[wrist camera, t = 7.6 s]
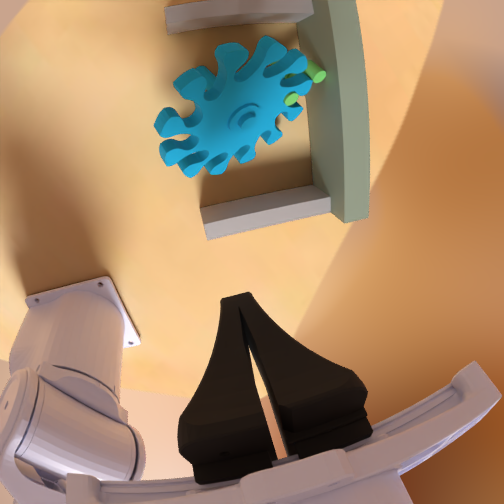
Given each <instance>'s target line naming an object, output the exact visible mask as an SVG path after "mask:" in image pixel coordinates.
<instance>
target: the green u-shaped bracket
mask: <svg viewBox="0 0 504 504" xmlns="http://www.w3.org/2000/svg"><path fill="white" fill-rule="evenodd" d="M164 9H165V18H166V26H167V33H168V35H169V34H174V33H180V32H185V31H191V30H197V29H204V28H211V27H220V26H229V25H240V24H256V23H296V25H297V31H298V38H299V45H300V52H301V53H303V54H304V55H305V56H306V58H307V60H312V61H313V62H314V63H316V64H317V65H318V66H319V67H320V68H322V69H323V70H324V71H325V72H326V76H325V78H324V79H323V80H322V81H321V82H319V83H314V82H312V86H311V88H310V90H309V92H308V93H307V94H306V103H307V113H308V124H309V135H310V148H311V162H312V178H313V185H308V186H303V187H297V188H292V189H287V190H282V191H277V192H272V193H267V194H262V195H257V196H252V197H247V198H243V199H238V200H234V201H229V202H224V203H220V204H216V205H211V206H207V207H203V208H200V212H201V216H202V221H203V225H204V229H205V233H206V237H207V240H211V239H216V238H220V237H224V236H228V235H233V234H237V233H241V232H245V231H250V230H254V229H258V228H263V227H267V226H271V225H276V224H280V223H285V222H289V221H293V220H298V219H302V218H307V217H311V216H316V215H321V214H325V213H330V212H331V213H332V214H333V215H335V216H336V217H337V218H338V219H340V220H341V221H342V222H343V223H348V222H353V221H357V220H361V219H366V218H368V213H369V190H370V134H369V110H368V94H367V81H366V70H365V61H364V52H363V44H362V37H361V30H360V23H359V17H358V11H357V6H356V0H207V1H199V2H192V3H186V4H180V5H174V6H169V7H164Z"/></svg>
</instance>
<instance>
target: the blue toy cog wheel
mask: <svg viewBox="0 0 504 504" xmlns="http://www.w3.org/2000/svg"><path fill="white" fill-rule="evenodd" d="M248 56H249V52H248V50H247V49H246V48H244V47H243V46H242V45H241V44H239V43H235V42H232V43H226V44H222V45H218V46H217V48H216V50H215V58H216V60H217V62H218V74H217V77H216V76H215V75H214V74H213V73H212V72H211V71H209V70H208V69H207V68H206V67H205V66H198V67H197V68H196V69H195V68H192V69H189V70H188V71H186V72H184V73H183V74H182V75H180V76H179V77H178V78H177V79H176V80H175V81H174V82H173V85H174V88H175V89H176V90H177V91H178V92H179V94H180V95H181V96H182V97H183V98H184V99H188V100H192V101H194V103H195V111H194V112H193V114H192V115H190V116H189V117H187V118H181V117H180V116H179V114H178V113H177V112H176V110H175V109H173V108H171V107H167V108H163V110H162V111H161V112H160V113H159V115H158V117H157V119H156V121H155V123H154V127H155V129H156V130H157V132H158V133H159V135H160V136H161V137H163V138H168V137H172V136H174V135H178V134H191V135H190V136H189V137H188V138H187V139H186V140H183V141H177V140H174V139H168V140H165V141H163V142H162V143H160V147H159V151H160V155H161V158H162V159H163V161H164V163H165V164H166V166H172V165H174V164H176V163H177V164H178V166H179V167H180V169H181V170H182V172H183V173H184V175H186V176H187V177H189V178H192V177H193V176H195V175H196V174H197V173H198V172H199V171H200V170H201V168H202V167H203V166H205V168H206V169H207V170H208V172H209V173H210V174H211V175H218V174H222V173H223V172H224V171H225V170H226V168H227V165H228V162H229V160H230V159H231V157H232V156H233V155H234V156H235V158H236V159H237V160H238V161H239V163H240V164H242V163H245V162H248V161H250V160H252V159H254V157H255V155H256V152H255V144H256V142H257V140H258V138H259V136H261V137H262V138H263V139H264V141H265V142H266V143H267V144H268V145H270V144H272V143H274V142H275V141H277V140H278V139H279V138H280V137H282V132H281V131H280V130H279V129H278V127H277V126H276V125H275V119H276V117H277V116H278V115H279V114H280V113H282V114H283V115H284V116H285V117H286V118H287V119H288V120H289V121H293V120H294V119H295V118H296V117H297V116H298V115H299V114H300V113H301V112H302V110H303V108H302V107H301V106H300V105H299V104H298V103H297V102H296V101H297V99H298V95H300V96H303V95H306V94H307V93H308V92H309V90H310V88H311V86H312V82H314V83H319V82H321V81H322V80H323V79H324V78H325V76H326V72H325V71H324V70H323V69H322V68H320V67H319V66H318V65H317V64H316V63H314V62H313V61H312V60H307V58H306V56H305V55H304V54H303V53H301V52H300V51H299V50H297V49H296V48H295V49H291V50H290V51H288V52H287V49H286V47H285V46H283V45H282V44H281V43H279V42H278V41H276V40H275V39H273V38H272V37H269V36H266V35H265V36H264V37H262V38H261V39H260V40H259V42H258V44H257V47H256V50H255V52H254V54H253V56H252V57H251V59H250V60H249V61H248V62H247V63H246V64H245V66H243V67H242V68H241V69H240V70H239V71H238V72H236V71H237V70H238V69H239V68H240V67H241V66H242V65H243V64H244V63H245V62H246V61H247V59H248ZM269 64H270V65H271V66H268V67H266V66H267V65H269ZM265 67H266V68H265ZM205 90H207V91H206V92H205ZM194 152H196V153H194ZM192 153H193V154H192Z"/></svg>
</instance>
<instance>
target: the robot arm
mask: <svg viewBox="0 0 504 504" xmlns="http://www.w3.org/2000/svg"><path fill="white" fill-rule="evenodd" d="M99 282H101V283H103V285H100V284H99ZM36 298H37V299H39V300H37V299H36ZM25 302H26V304H27V306H28V307H29V310H28V312H27V314H26V316H25V318H24V320H23V323H22V325H21V327H20V329H19V332H18V334H17V336H16V339H15V341H14V343H13V346H12V348H11V352H10V357H9V369H10V375H11V377H10V379H9V380H8V382H7V383H6V385H5V387H4V389H3V391H2V394H1V396H0V482H1V483H2V484H3V485H4V487H5V488H6V489H7V491H8V492H9V493H10V494H11V495H12V497H13V498H14V501H13V504H413V503H412V500H411V498H410V496H409V494H408V493H407V491H406V488H405V486H404V484H403V483H402V480H401V478H400V475H401V474H403V473H405V472H407V471H408V470H410V469H412V468H413V467H415V466H417V465H418V464H420V463H422V462H423V461H425V460H426V459H428V458H429V457H431V456H432V455H433V454H435V453H437V452H438V451H440V450H441V449H443V448H444V447H446V446H447V445H448V444H449V443H451V442H452V441H454V440H455V439H457V438H458V437H459V436H461V435H462V434H463V433H465V432H466V431H467V430H469V429H470V428H471V427H472V426H474V425H475V424H476V423H477V422H479V421H480V420H481V419H482V418H483V417H484V415H486V414H487V413H488V412H489V410H490V409H491V408H492V407H493V406H494V405H495V404H496V403H497V402H498V401H499V399H500V398H501V397H502V395H501V394H500V392H499V391H498V389H497V388H496V387H495V386H494V384H493V383H492V382H491V380H490V379H489V377H488V376H487V375H486V374H485V372H484V371H483V370H482V368H481V367H480V366H479V365H478V363H477V362H476V361H473V362H472V363H470V364H469V365H467V366H466V367H464V368H463V369H462V370H460V371H459V372H458V373H457V374H456V375H455V376H454V377H453V379H452V381H451V383H450V384H448V385H446V386H445V387H444V388H442V389H440V390H438V391H437V392H435V393H434V394H432V395H430V396H429V397H427V398H425V399H423V400H422V401H420V402H418V403H416V404H414V405H413V406H411V407H409V408H407V409H405V410H403V411H401V412H399V413H398V414H396V415H394V416H392V417H390V418H387V419H385V420H383V421H381V422H379V423H377V424H375V425H373V426H371V425H370V423H369V421H368V419H367V417H366V416H367V412H366V411H365V408H364V404H365V401H366V398H367V394H368V391H367V389H366V387H365V385H364V384H363V382H362V381H361V380H360V379H359V377H357V375H356V374H355V373H354V372H353V371H352V370H350V369H347V368H345V367H342V366H340V365H338V364H335V363H333V362H331V361H329V360H327V359H325V358H323V357H321V356H320V355H318V354H316V353H314V352H313V351H311V350H309V349H307V348H306V347H305V346H303V345H302V344H300V343H299V342H298V341H296V340H295V339H294V338H292V337H291V336H290V335H288V334H287V333H286V332H285V331H284V330H283V329H282V328H280V327H279V326H278V325H277V324H276V323H275V322H274V321H273V320H272V319H271V318H270V317H269V316H268V315H267V314H266V312H265V311H264V310H263V309H262V308H261V307H260V305H259V304H258V303H257V302H256V300H255V299H254V297H253V296H252V294H251V293H250V292H245V293H242V294H238V295H234V296H230V297H226V298H222V299H221V301H220V304H221V310H220V320H219V326H218V332H217V336H216V340H215V344H214V348H213V352H212V355H211V358H210V361H209V364H208V366H207V369H206V371H205V373H204V376H203V378H202V380H201V382H200V384H199V386H198V388H197V390H196V392H195V394H194V396H193V397H192V399H191V401H190V402H189V404H188V405H187V407H186V408H185V410H184V411H183V413H182V415H181V416H180V418H179V424H178V436H177V438H178V448H179V453H180V454H181V455H182V456H183V457H184V458H185V459H186V460H187V461H189V462H190V463H191V464H192V466H193V472H194V476H193V477H185V478H175V479H162V480H142V481H140V480H141V478H142V476H143V473H144V469H145V463H146V462H145V461H146V454H145V446H144V442H143V439H142V437H141V435H140V433H139V432H138V431H137V430H136V429H135V428H134V427H132V426H131V425H128V411H127V410H125V409H123V408H122V407H121V406H120V383H121V367H122V355H123V348H126V347H131V346H137V345H139V344H140V343H141V339H140V337H139V335H138V333H137V331H136V329H135V327H134V325H133V324H132V322H131V320H130V318H129V316H128V314H127V312H126V310H125V308H124V306H123V304H122V301H121V299H120V297H119V295H118V293H117V291H116V289H115V287H114V284H113V282H112V280H111V279H110V278H109V277H107V276H103V277H99V278H95V279H91V280H88V281H84V282H80V283H76V284H72V285H68V286H64V287H60V288H57V289H53V290H49V291H45V292H41V293H38V294H34V295H30V296H27V298H26V299H25ZM129 341H132V342H129ZM248 345H249V346H248ZM249 348H250V350H251V353H252V355H253V358H254V360H255V363H256V365H257V367H258V370H259V372H260V375H261V377H262V379H263V382H264V384H265V387H266V390H267V393H268V396H269V399H270V403H271V406H272V409H273V412H274V415H275V419H276V422H277V425H278V428H279V431H280V434H281V438H282V441H283V444H284V447H285V450H286V453H287V457H286V458H282V459H279V460H278V458H277V455H276V452H275V448H274V445H273V442H272V438H271V435H270V431H269V428H268V425H267V421H266V418H265V415H264V412H263V408H262V405H261V402H260V398H259V395H258V392H257V388H256V385H255V379H254V374H253V368H252V363H251V357H250V352H249Z"/></svg>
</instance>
